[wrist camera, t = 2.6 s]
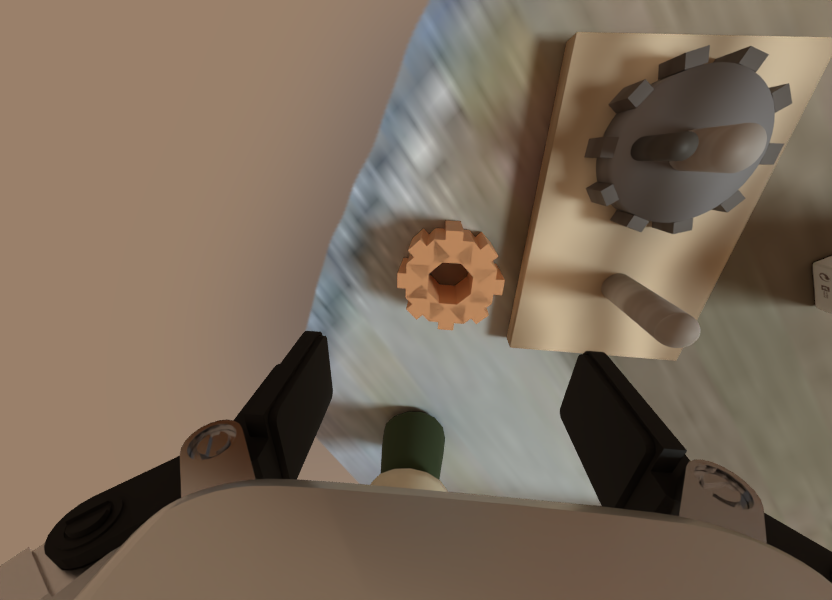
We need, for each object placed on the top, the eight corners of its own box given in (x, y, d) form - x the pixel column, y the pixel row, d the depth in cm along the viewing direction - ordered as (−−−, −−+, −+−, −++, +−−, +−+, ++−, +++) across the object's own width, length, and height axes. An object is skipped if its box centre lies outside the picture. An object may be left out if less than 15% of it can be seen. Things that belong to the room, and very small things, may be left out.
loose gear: (502, 223, 22) (513, 234, 19) (488, 311, 25) (495, 333, 22) (404, 217, 22) (398, 227, 19) (402, 304, 25) (396, 325, 22)
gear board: (808, 47, 16) (1129, -51, 9) (663, 349, 25) (761, 433, 17) (566, 42, 17) (666, -54, 9) (506, 337, 26) (533, 413, 18)
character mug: (354, 429, 32) (304, 585, 20) (381, 385, 29) (339, 536, 17) (443, 466, 33) (444, 632, 22) (477, 427, 30) (499, 595, 19)
